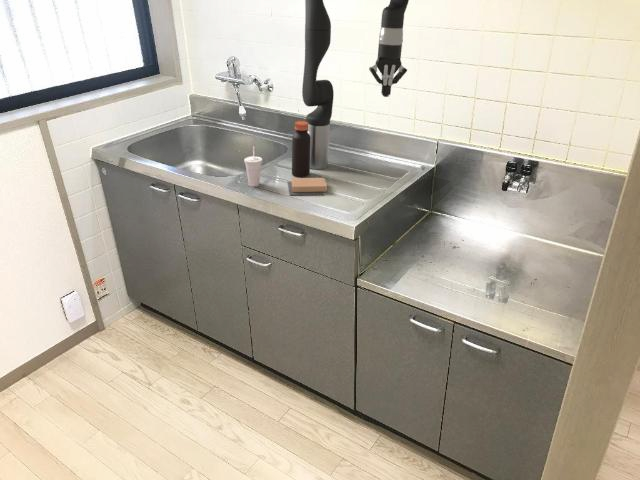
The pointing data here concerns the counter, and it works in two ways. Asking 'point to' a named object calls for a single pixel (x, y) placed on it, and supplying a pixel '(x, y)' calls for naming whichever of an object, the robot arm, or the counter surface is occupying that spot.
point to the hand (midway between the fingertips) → (385, 96)
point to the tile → (308, 185)
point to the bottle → (301, 150)
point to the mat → (302, 192)
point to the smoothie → (253, 169)
